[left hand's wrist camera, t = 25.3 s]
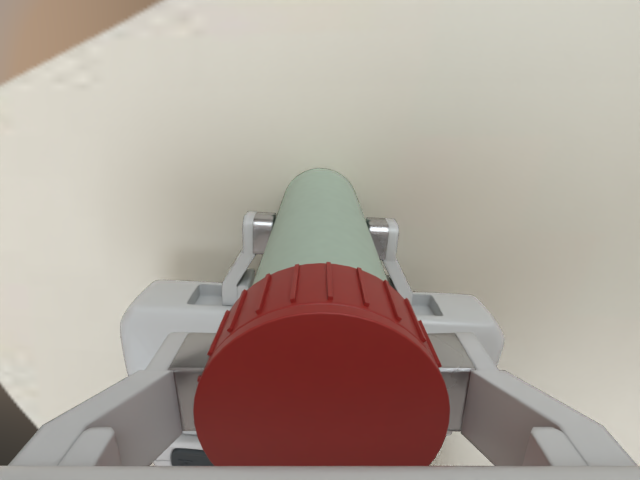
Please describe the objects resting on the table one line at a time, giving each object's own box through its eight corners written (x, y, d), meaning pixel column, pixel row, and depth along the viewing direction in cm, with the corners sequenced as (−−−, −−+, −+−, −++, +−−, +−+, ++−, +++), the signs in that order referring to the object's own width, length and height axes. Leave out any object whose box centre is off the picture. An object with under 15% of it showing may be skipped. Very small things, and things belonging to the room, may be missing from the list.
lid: (226, 433, 12) (204, 514, 9) (205, 260, 10) (170, 310, 7) (415, 432, 12) (438, 513, 9) (434, 258, 10) (469, 307, 7)
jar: (329, 252, 26) (344, 495, 10) (269, 214, 25) (183, 417, 9) (372, 195, 25) (466, 374, 9) (310, 153, 24) (291, 268, 8)
